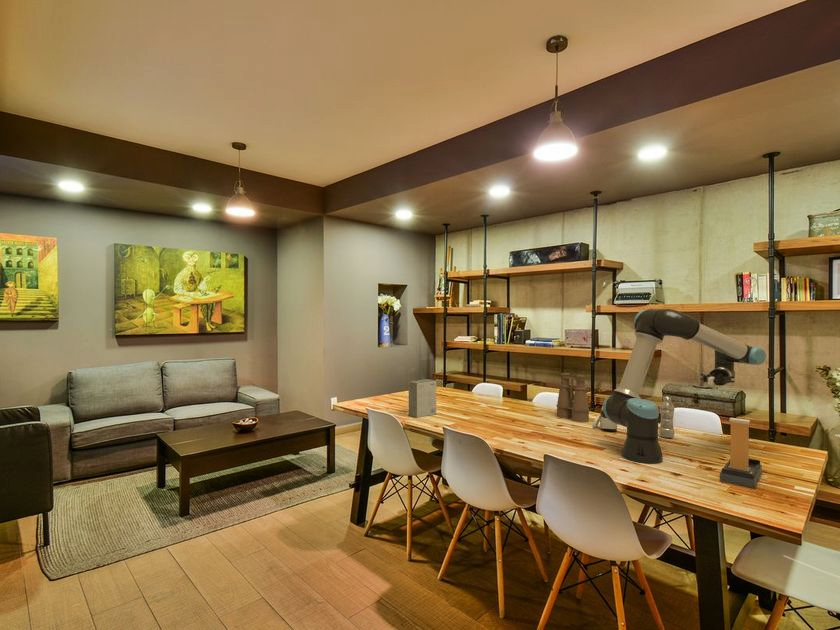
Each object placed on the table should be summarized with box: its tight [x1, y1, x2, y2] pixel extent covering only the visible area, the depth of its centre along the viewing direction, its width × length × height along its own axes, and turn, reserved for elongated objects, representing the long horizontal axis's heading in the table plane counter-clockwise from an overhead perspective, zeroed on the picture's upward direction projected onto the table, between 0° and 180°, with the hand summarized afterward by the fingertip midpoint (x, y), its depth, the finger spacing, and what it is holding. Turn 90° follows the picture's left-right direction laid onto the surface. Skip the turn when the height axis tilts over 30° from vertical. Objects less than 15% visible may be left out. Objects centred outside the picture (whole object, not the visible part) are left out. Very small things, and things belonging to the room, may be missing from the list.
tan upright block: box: [728, 417, 751, 473], centre depth 162 cm, size 5×6×18 cm
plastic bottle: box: [658, 395, 676, 439], centre depth 220 cm, size 6×7×20 cm
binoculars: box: [555, 372, 591, 423], centre depth 260 cm, size 21×10×25 cm, turn 31°
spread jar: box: [592, 406, 618, 433], centre depth 235 cm, size 12×11×12 cm
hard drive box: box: [408, 378, 437, 418], centre depth 264 cm, size 16×8×20 cm, turn 130°
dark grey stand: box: [719, 457, 763, 490], centre depth 166 cm, size 22×10×5 cm, turn 138°
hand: (709, 381), depth 186 cm, fingers closed
